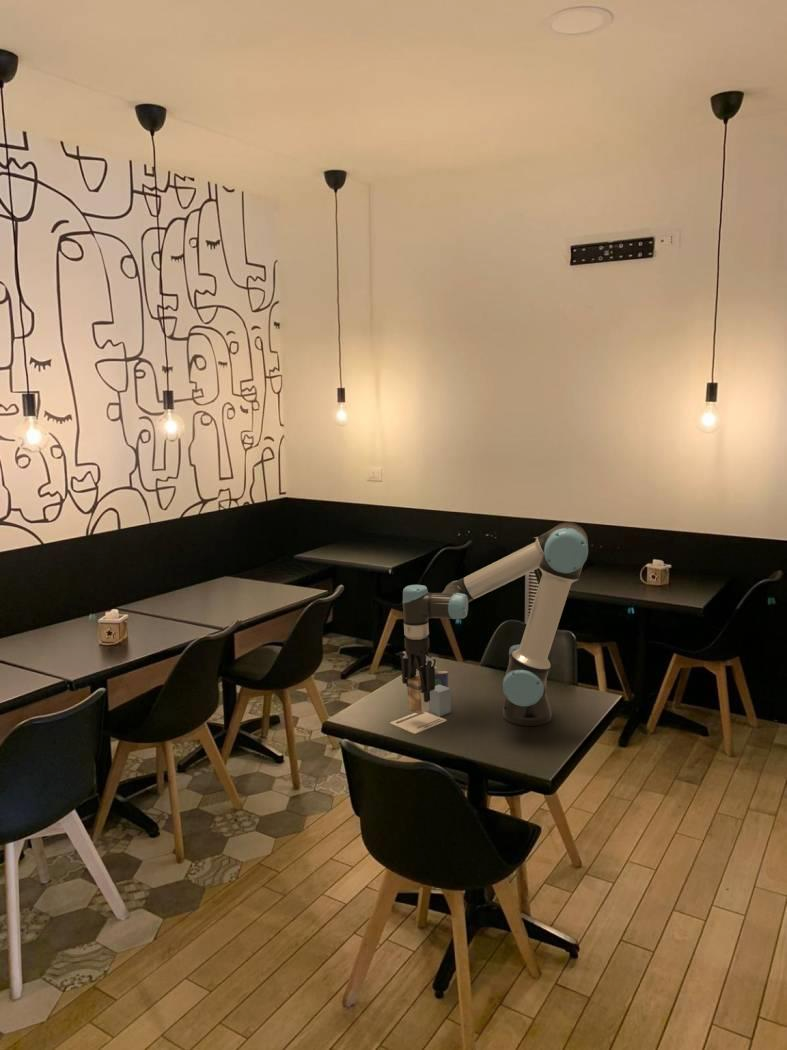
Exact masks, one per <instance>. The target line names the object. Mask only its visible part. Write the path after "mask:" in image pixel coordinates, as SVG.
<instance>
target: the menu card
mask: <svg viewBox="0 0 787 1050" xmlns="http://www.w3.org/2000/svg"><path fill="white" fill-rule="evenodd" d="M447 721H448V720H447V719H446V718H443V717H441V716H437V715H435V714H432V713H430V712H429V711H426V712H424V713H421V714H418V713H415V712H413V713H411V714H409V715H406V716H403V717H401V718H398V719H396V720H392V721H391V722H389V723H390V725H392V726H395V727H397V728H399V729H402V730H405V731H406V732H409V733H411V734H413V735H416V734H419V733H421V732H424V731H426V730H428V729H431V728H432V727H433V728H434V727H435V726H437V725H439V724H443V723H445V722H447Z"/></svg>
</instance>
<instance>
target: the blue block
mask: <svg viewBox="0 0 787 1050" xmlns="http://www.w3.org/2000/svg"><path fill="white" fill-rule="evenodd" d="M451 690H452V689H451V687H449V686H448V687H445V686H442V685H436V686H435V690H432V691H430V701H429V703H430V710H429V711H428V713H430V714H433V715H435V716H438V717H442V716H444V715H446V714H450V713H451V712H452V711H451V706H452V705H451V702H452V701H451V692H452V691H451Z"/></svg>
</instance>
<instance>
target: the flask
mask: <svg viewBox="0 0 787 1050" xmlns="http://www.w3.org/2000/svg"><path fill="white" fill-rule="evenodd" d="M437 668H438V667H437V666H435V686H436V685H442V686H445V687H448V688H449V672H448V671H447V670H438V669H437Z"/></svg>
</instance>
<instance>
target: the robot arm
mask: <svg viewBox="0 0 787 1050" xmlns="http://www.w3.org/2000/svg"><path fill="white" fill-rule="evenodd" d="M588 555H589V538H588V535H587V533H586V532H585V530H584V528H582V527H581V526H579V525H578V524H576V523H573V522H563V523H559V524H557V525H556V526H554V527H553V528H551V529H549V530H548V531H546V532H545V533H542V534H540V535H539V536H537V537H536V538H535V541H534V542H532V543H530V544H528V545H525V546H524V547H522V548H520V549H517V550H516V551H514V552H512V553H510V554H508V555H507V556H504V557H502V558H501V559H498V560H497V561H494V562H492V563H491V564H488V565H487V566H484V567H482V568H480V569H478V570H476V571H474V572H472V573H470V574H468V575H466V576H465V577H463V578H460V579H458V580H453V581H451V582H450V583H448V584H447V585H446V586H445V588H444V590H443V591H442V592H429V590H428V587H427V586H426V585H422V584H410V585H407V586H405V587H404V588H403V590H402V609H403V610H402V611H403V612H402V613H403V630H404V631H403V632H404V633H403V634H404V636H405V637H404V638H403V639H404V642H403V643H404V649H405V651H402V652H399V657H400V662H401V678H402V679H401V680H402V681H401V682H402V684H405V685H406V687H407V688H408V679H410V678H413V677H416V676H417V671H418V676H420V680H421V685H422V690H423V691H421V712H422V713H424V712H429V701H430V691H432V690H435V667H436V659H435V658H431V657H430V655H429V648H430V637H429V635H430V628H429V619H452V620H459V619H465V618H466V617H467V616H468V612H469V603H470V602H472V601H474V600H475V599H477V598H480V597H482V596H484V595H485V594H487V593H489V592H493V591H495V590H496V589H498V588H501V587H502V586H505V585H507V584H508V583H510V582H513V581H515V580H517V579H519V578H521V577H523V576H525V575H528V574H529V573H531V572H533V571H535V570H537V569H539V570H540V572H541V577H540V581H539V584H538V587H537V590H536V594H535V597H534V600H533V603H532V607H531V609H530V613H529V615H528V620H527V623H526V625H525V629H524V632H523V635H522V639H521V641H520V644H514V645H512V646H510V647H509V651H508V656H509V657H508V666H507V669H506V672H505V675H504V677H503V679H502V691H503V694H504V696H505V697H506V699H505V701H504V705H503V708H502V717H503V719H504V720H506V721H508V722H509V723H511V724H513V725H518V726H526V727H534V726H535V727H536V726H537V727H538V726H542V725H545V724H548V723H549V722H551V720H552V715H553V714H552V713H553V711H552V708H551V706H550V703H549V702H550V701H549V699H548V696H547V680H548V679H547V678H548V676H549V673H550V668H551V662H550V660H549V658H548V657H549V654H550V652H551V648H552V645H553V642H554V640H555V636H556V632H557V630H558V627H559V623H560V620H561V617H562V614H563V611H564V607H565V605H566V601H567V598H568V596H569V593H570V592H569V591H570V589H571V586H572V584H573V583H575V582H577V581H579V579H580V576H581V572H582V570H583V566H584V564H585V563H586V561H587V560H588ZM407 696H408V697H409V695H408V694H407Z"/></svg>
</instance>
